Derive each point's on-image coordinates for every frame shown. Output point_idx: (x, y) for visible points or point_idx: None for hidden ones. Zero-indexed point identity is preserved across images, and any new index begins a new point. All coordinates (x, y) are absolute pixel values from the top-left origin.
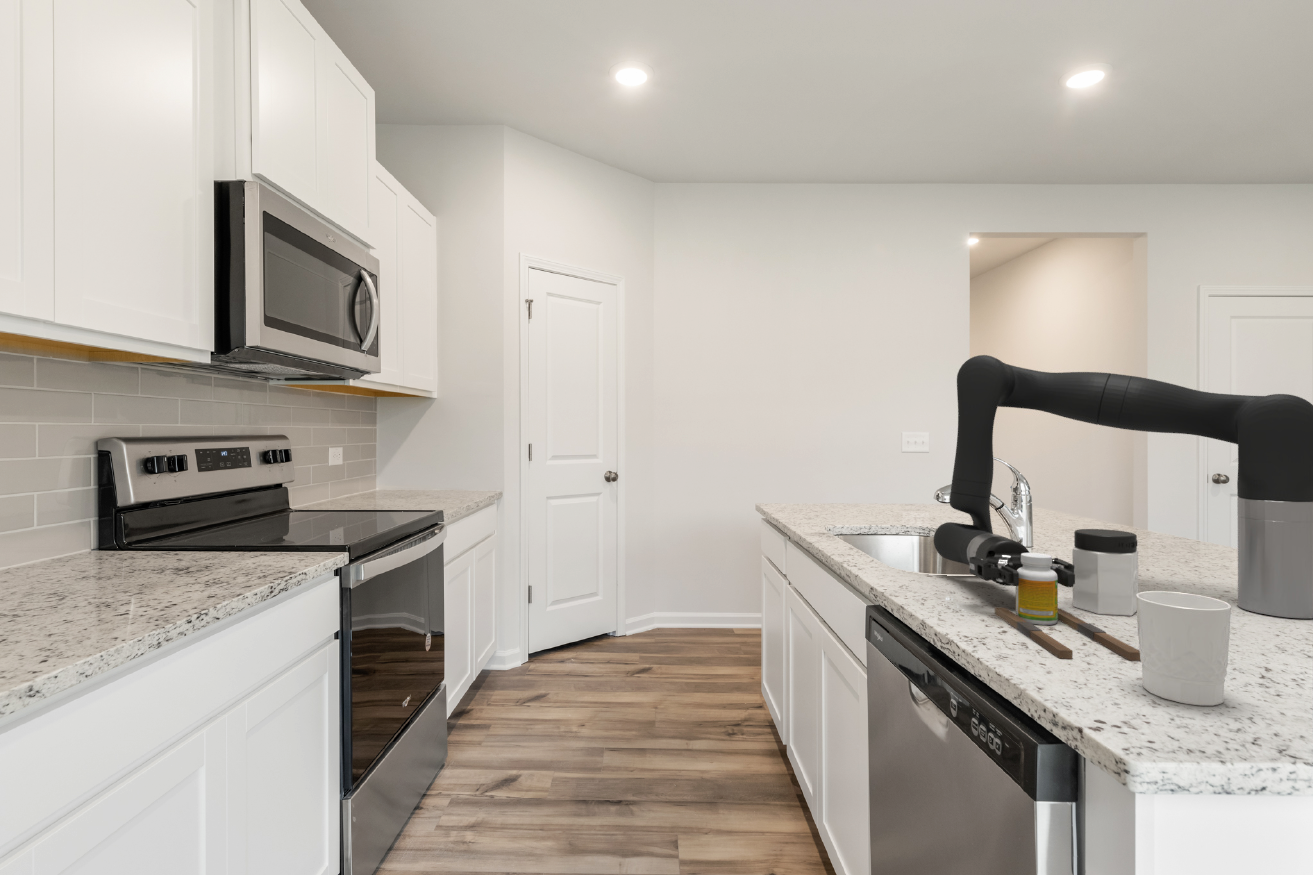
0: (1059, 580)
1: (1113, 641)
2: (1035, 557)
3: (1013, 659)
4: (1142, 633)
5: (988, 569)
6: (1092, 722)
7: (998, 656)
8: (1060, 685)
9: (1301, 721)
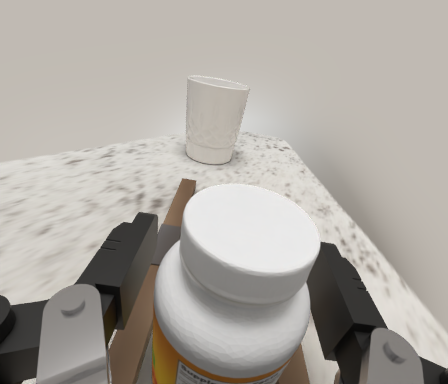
0: (137, 289)
1: (184, 201)
2: (272, 192)
3: (312, 205)
4: (242, 117)
5: (441, 370)
6: (285, 150)
7: (326, 212)
8: (286, 171)
9: (173, 134)
